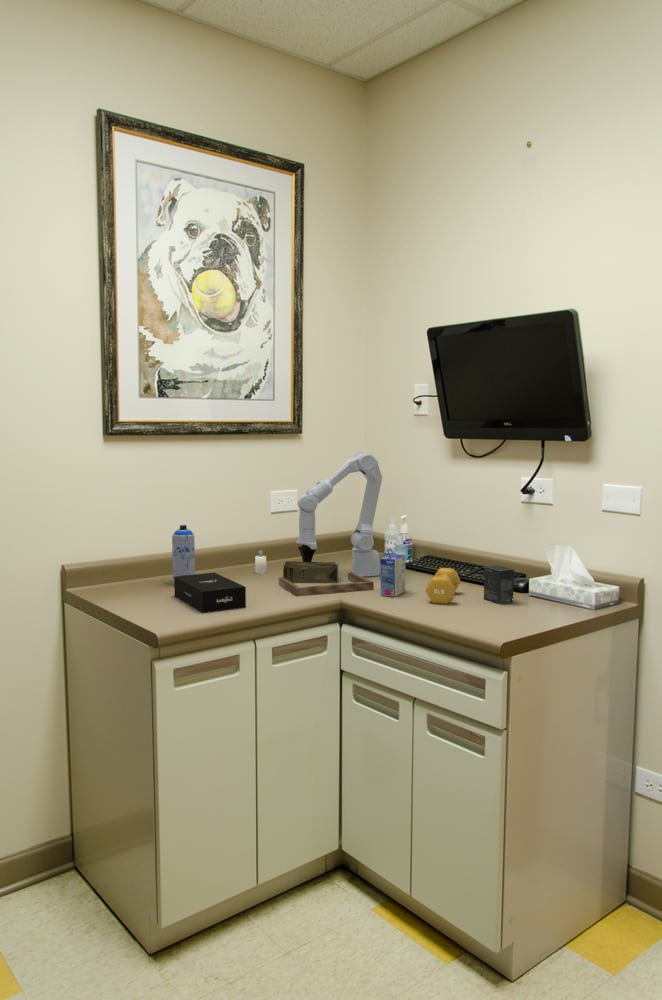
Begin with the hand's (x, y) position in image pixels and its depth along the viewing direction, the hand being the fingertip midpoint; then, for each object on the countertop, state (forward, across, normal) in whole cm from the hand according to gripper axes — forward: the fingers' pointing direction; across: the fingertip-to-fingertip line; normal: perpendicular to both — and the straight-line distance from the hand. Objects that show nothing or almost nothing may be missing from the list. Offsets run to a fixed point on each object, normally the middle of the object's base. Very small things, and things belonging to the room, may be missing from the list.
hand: (307, 566), depth 271 cm
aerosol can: (+4, -5, -43) cm, 43 cm away
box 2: (+4, +55, +43) cm, 70 cm away
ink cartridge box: (+4, +34, +17) cm, 38 cm away
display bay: (+4, +18, 0) cm, 19 cm away
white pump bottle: (+4, -14, -13) cm, 19 cm away
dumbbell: (+4, +45, +29) cm, 54 cm away
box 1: (+4, +24, -41) cm, 48 cm away
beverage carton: (+4, +6, 0) cm, 7 cm away
